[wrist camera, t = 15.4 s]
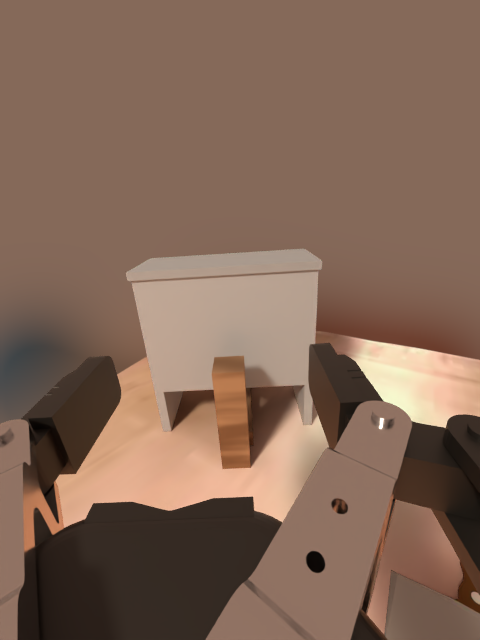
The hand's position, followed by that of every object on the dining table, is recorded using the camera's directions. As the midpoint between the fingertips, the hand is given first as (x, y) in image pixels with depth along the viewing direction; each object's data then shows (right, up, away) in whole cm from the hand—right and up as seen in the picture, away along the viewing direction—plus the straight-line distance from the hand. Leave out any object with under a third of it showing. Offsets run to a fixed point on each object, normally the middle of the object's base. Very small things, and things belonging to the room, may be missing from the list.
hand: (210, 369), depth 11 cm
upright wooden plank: (+1, -13, +32) cm, 35 cm away
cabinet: (+1, -12, +34) cm, 36 cm away
